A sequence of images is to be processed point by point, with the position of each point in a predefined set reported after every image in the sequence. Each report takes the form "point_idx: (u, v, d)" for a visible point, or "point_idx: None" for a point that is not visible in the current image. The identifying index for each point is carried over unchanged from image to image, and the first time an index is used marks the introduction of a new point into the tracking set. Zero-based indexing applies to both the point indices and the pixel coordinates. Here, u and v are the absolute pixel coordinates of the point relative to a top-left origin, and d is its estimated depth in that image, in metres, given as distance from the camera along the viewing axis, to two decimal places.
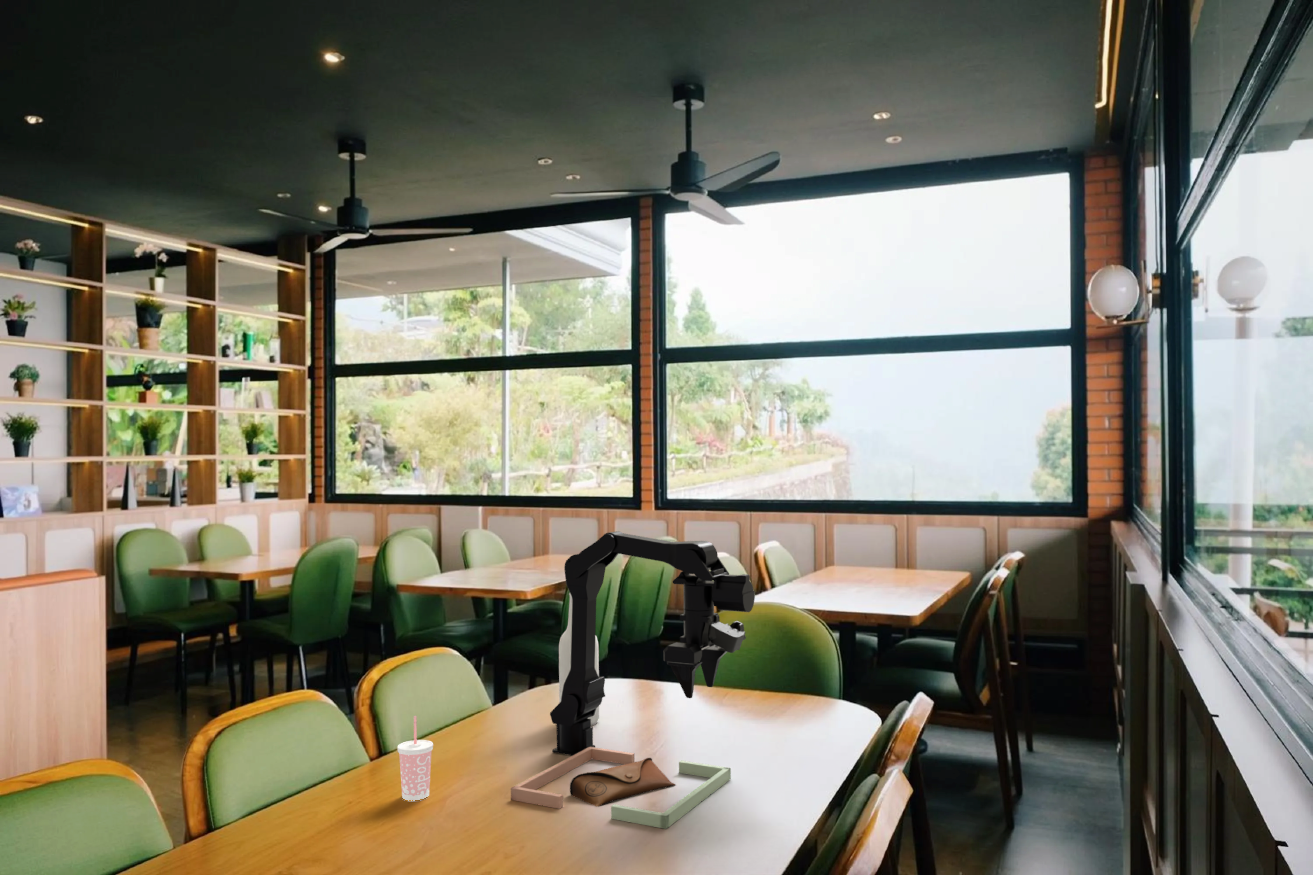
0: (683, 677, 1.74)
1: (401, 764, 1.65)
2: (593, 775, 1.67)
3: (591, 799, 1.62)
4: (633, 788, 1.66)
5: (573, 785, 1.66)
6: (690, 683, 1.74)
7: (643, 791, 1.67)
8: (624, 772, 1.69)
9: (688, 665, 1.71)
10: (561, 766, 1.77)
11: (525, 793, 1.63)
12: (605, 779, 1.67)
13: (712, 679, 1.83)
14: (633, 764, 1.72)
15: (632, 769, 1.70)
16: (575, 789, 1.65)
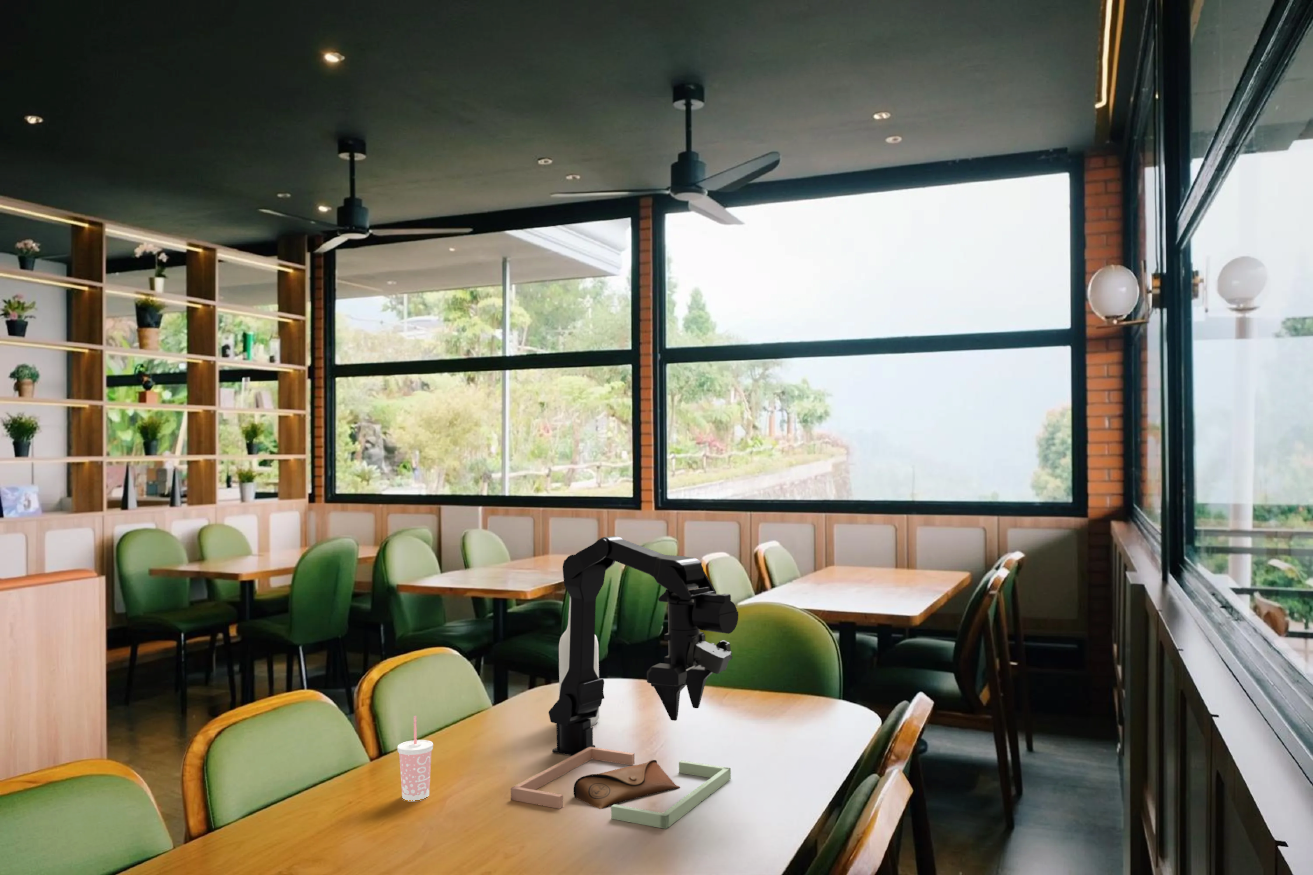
0: (667, 699, 1.69)
1: (401, 764, 1.65)
2: (597, 777, 1.66)
3: (594, 801, 1.61)
4: (637, 791, 1.65)
5: (577, 787, 1.65)
6: (675, 705, 1.68)
7: (647, 794, 1.66)
8: (628, 775, 1.67)
9: (672, 687, 1.66)
10: (561, 766, 1.77)
11: (525, 793, 1.63)
12: (609, 781, 1.66)
13: (698, 700, 1.77)
14: (637, 766, 1.70)
15: (636, 771, 1.69)
16: (579, 791, 1.64)
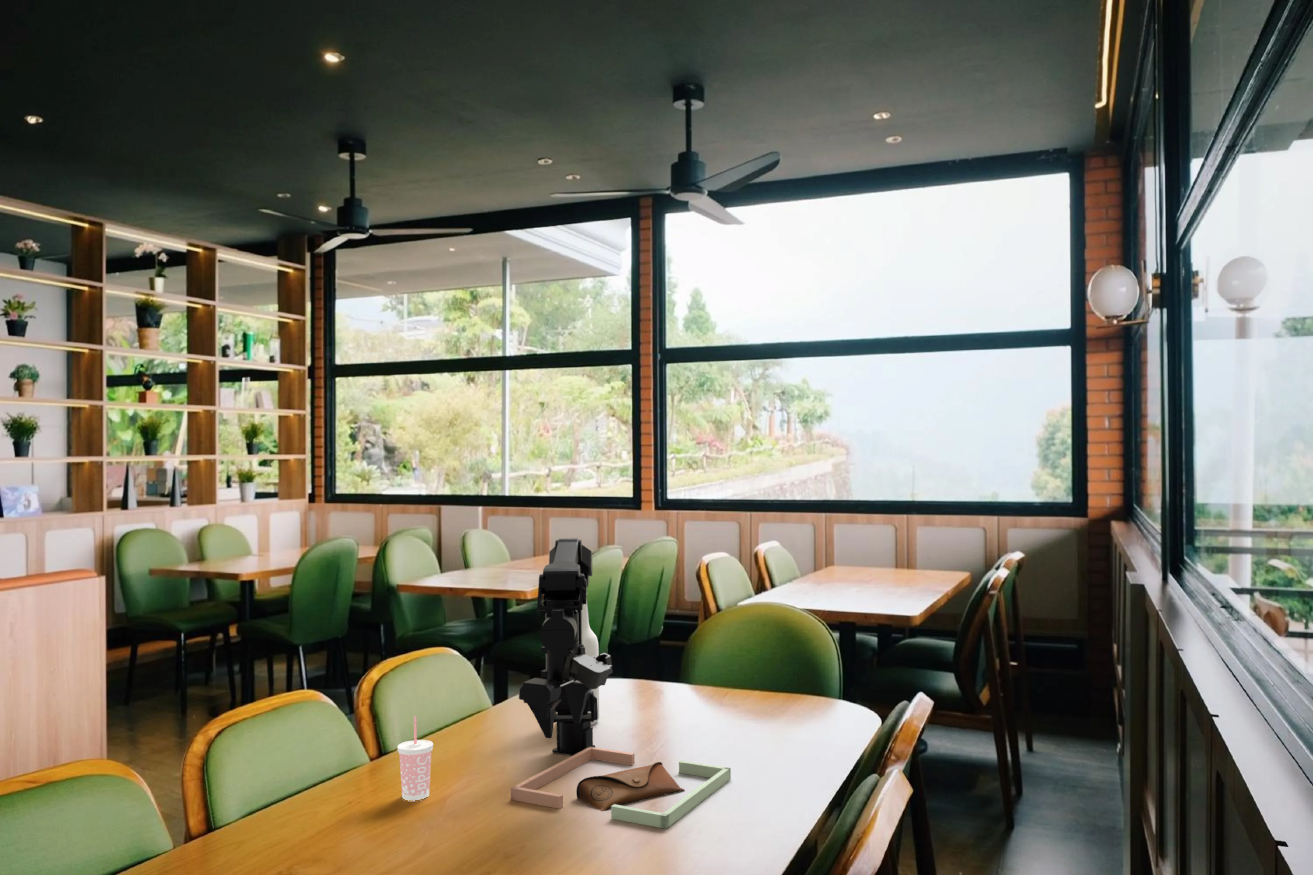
0: (541, 716, 1.60)
1: (401, 764, 1.65)
2: (600, 779, 1.65)
3: (596, 803, 1.60)
4: (640, 793, 1.63)
5: (579, 788, 1.64)
6: (549, 722, 1.59)
7: (650, 796, 1.64)
8: (632, 777, 1.66)
9: (544, 704, 1.57)
10: (561, 766, 1.77)
11: (525, 793, 1.63)
12: (612, 783, 1.65)
13: (579, 715, 1.68)
14: (642, 768, 1.69)
15: (640, 773, 1.67)
16: (581, 793, 1.64)
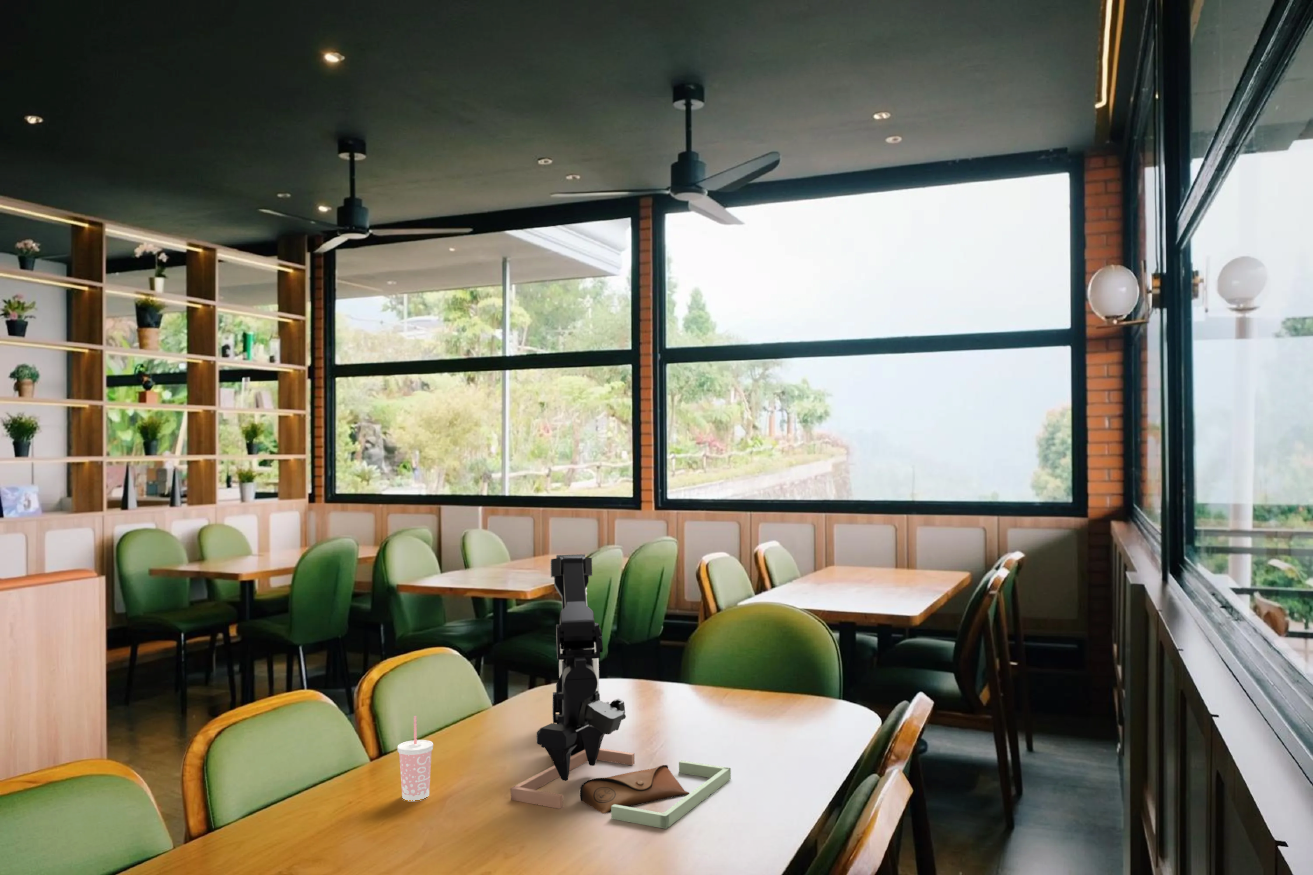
0: (558, 760, 1.69)
1: (401, 764, 1.65)
2: (603, 781, 1.64)
3: (599, 805, 1.59)
4: (643, 796, 1.62)
5: (583, 790, 1.63)
6: (565, 766, 1.68)
7: (654, 799, 1.63)
8: (636, 779, 1.65)
9: (561, 748, 1.66)
10: None
11: (525, 793, 1.63)
12: (615, 785, 1.63)
13: (594, 758, 1.77)
14: (646, 771, 1.68)
15: (644, 776, 1.66)
16: (584, 794, 1.63)
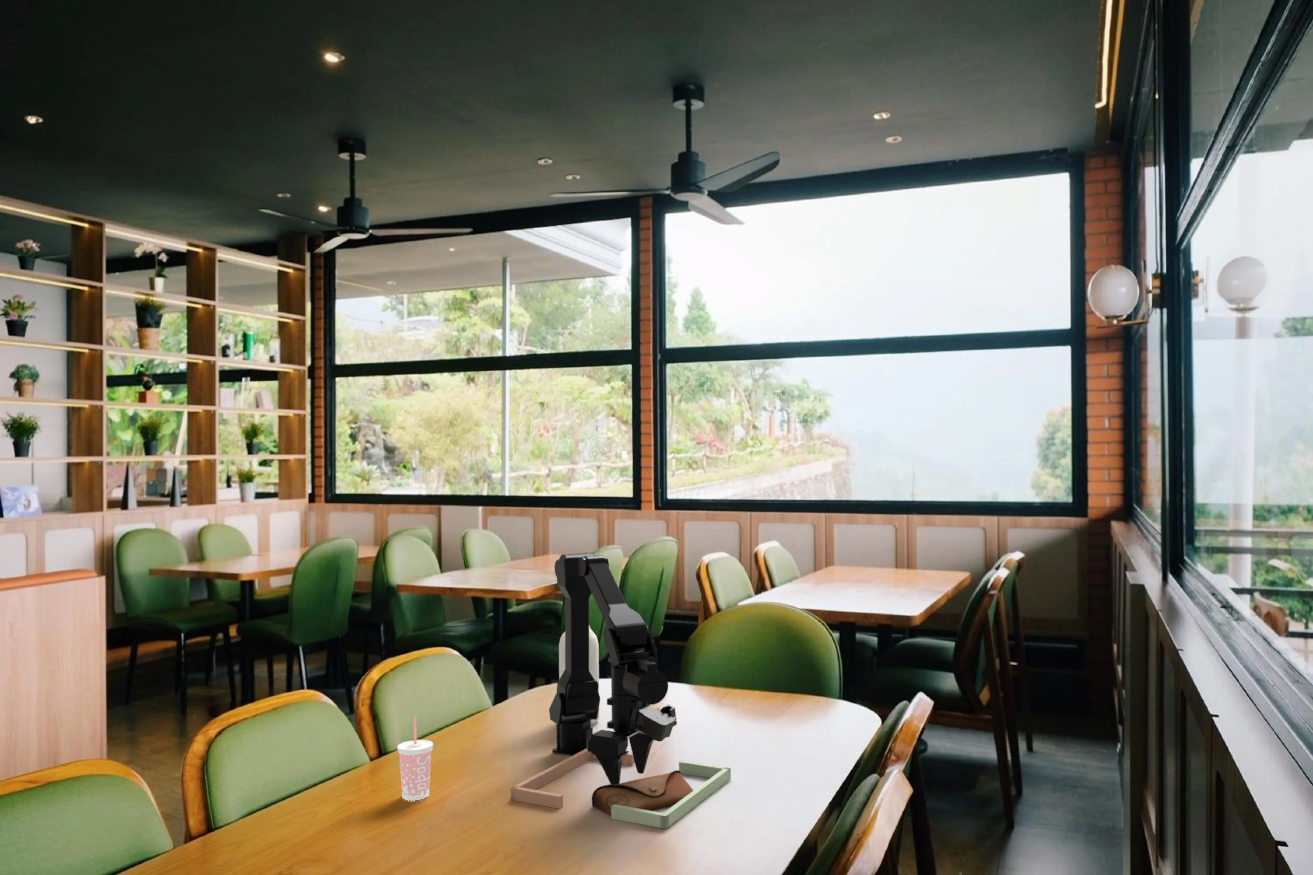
0: (609, 767, 1.64)
1: (401, 764, 1.65)
2: (616, 787, 1.61)
3: None
4: (656, 802, 1.59)
5: (595, 797, 1.60)
6: (616, 773, 1.64)
7: (667, 806, 1.60)
8: (649, 785, 1.62)
9: (613, 756, 1.61)
10: (561, 766, 1.77)
11: (525, 793, 1.63)
12: (628, 792, 1.60)
13: (643, 765, 1.72)
14: (659, 777, 1.65)
15: (657, 782, 1.63)
16: (597, 801, 1.60)
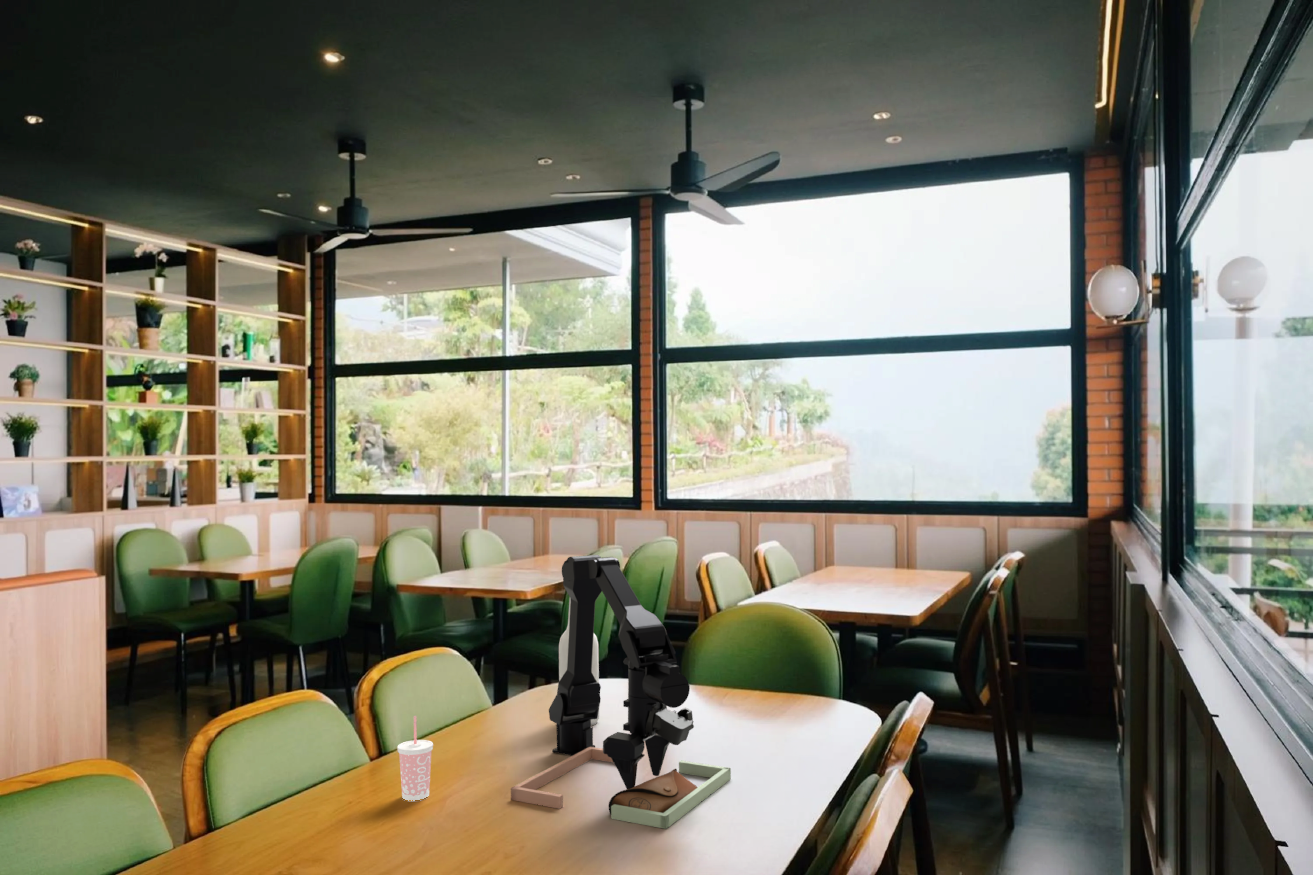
0: (624, 770, 1.62)
1: (401, 764, 1.65)
2: (632, 791, 1.59)
3: None
4: (674, 801, 1.59)
5: (613, 804, 1.57)
6: (632, 776, 1.62)
7: None
8: (661, 786, 1.61)
9: (629, 759, 1.60)
10: (561, 766, 1.77)
11: (525, 793, 1.63)
12: (645, 795, 1.59)
13: (658, 768, 1.71)
14: (665, 777, 1.65)
15: (667, 782, 1.63)
16: None
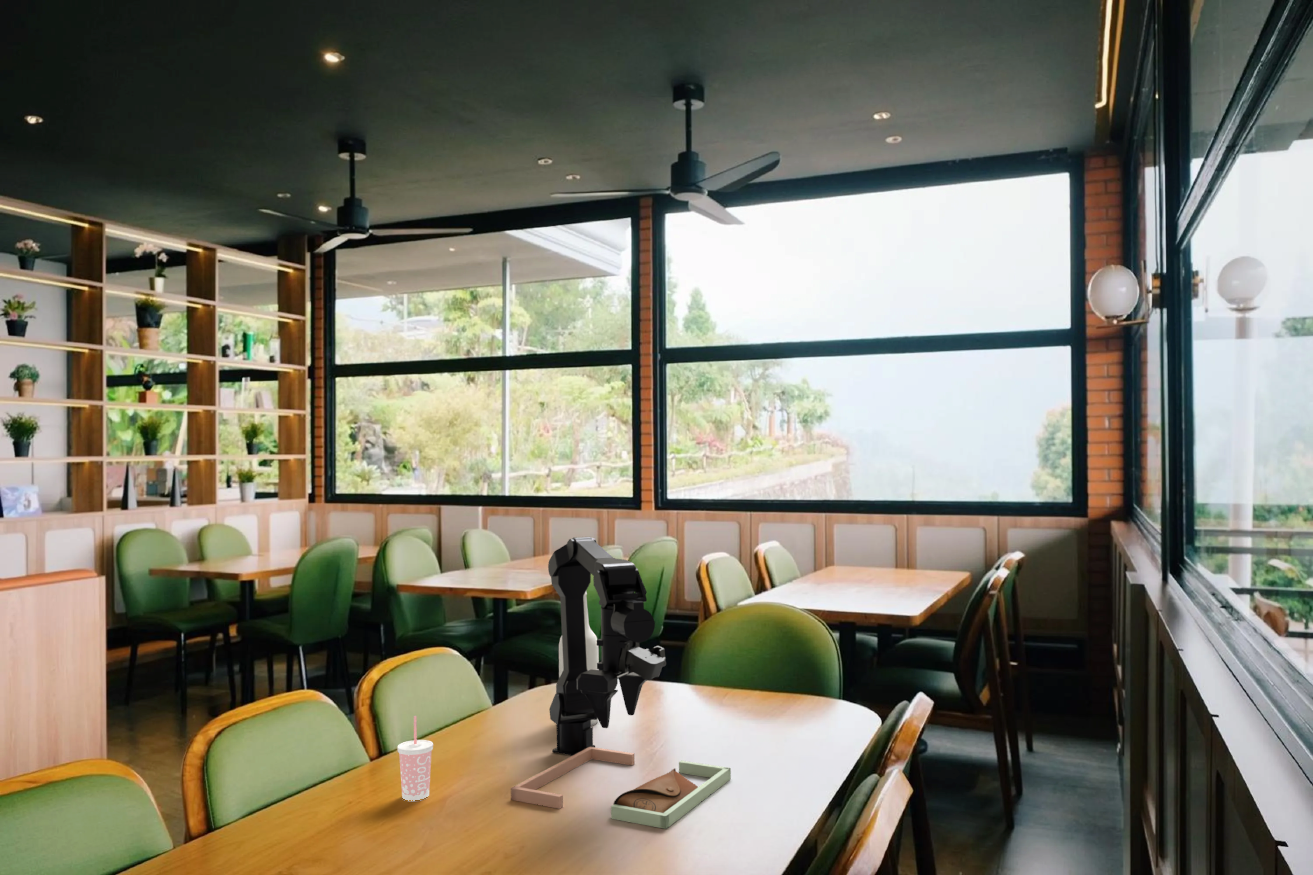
0: (598, 706, 1.65)
1: (401, 764, 1.65)
2: (636, 792, 1.58)
3: None
4: (678, 801, 1.59)
5: None
6: (606, 712, 1.65)
7: None
8: (664, 786, 1.61)
9: (602, 694, 1.62)
10: (561, 766, 1.77)
11: (525, 793, 1.63)
12: (648, 795, 1.58)
13: (633, 707, 1.73)
14: (666, 777, 1.65)
15: (669, 782, 1.63)
16: None
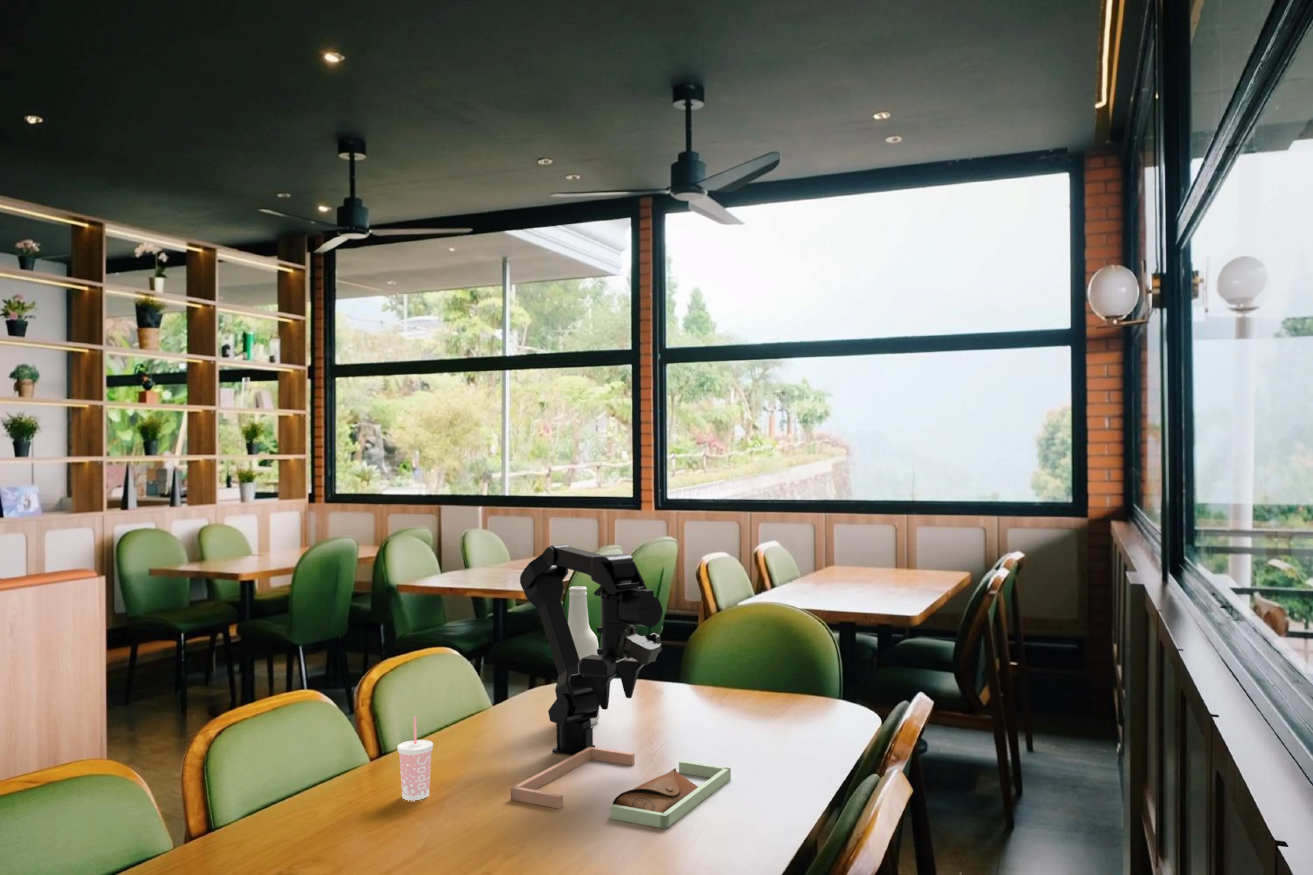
0: (598, 689, 1.77)
1: (401, 764, 1.65)
2: (635, 792, 1.58)
3: None
4: (677, 801, 1.59)
5: None
6: (605, 695, 1.76)
7: None
8: (663, 786, 1.61)
9: (602, 677, 1.74)
10: (561, 766, 1.77)
11: (525, 793, 1.63)
12: (648, 795, 1.59)
13: (631, 690, 1.85)
14: (666, 777, 1.65)
15: (668, 782, 1.63)
16: None
